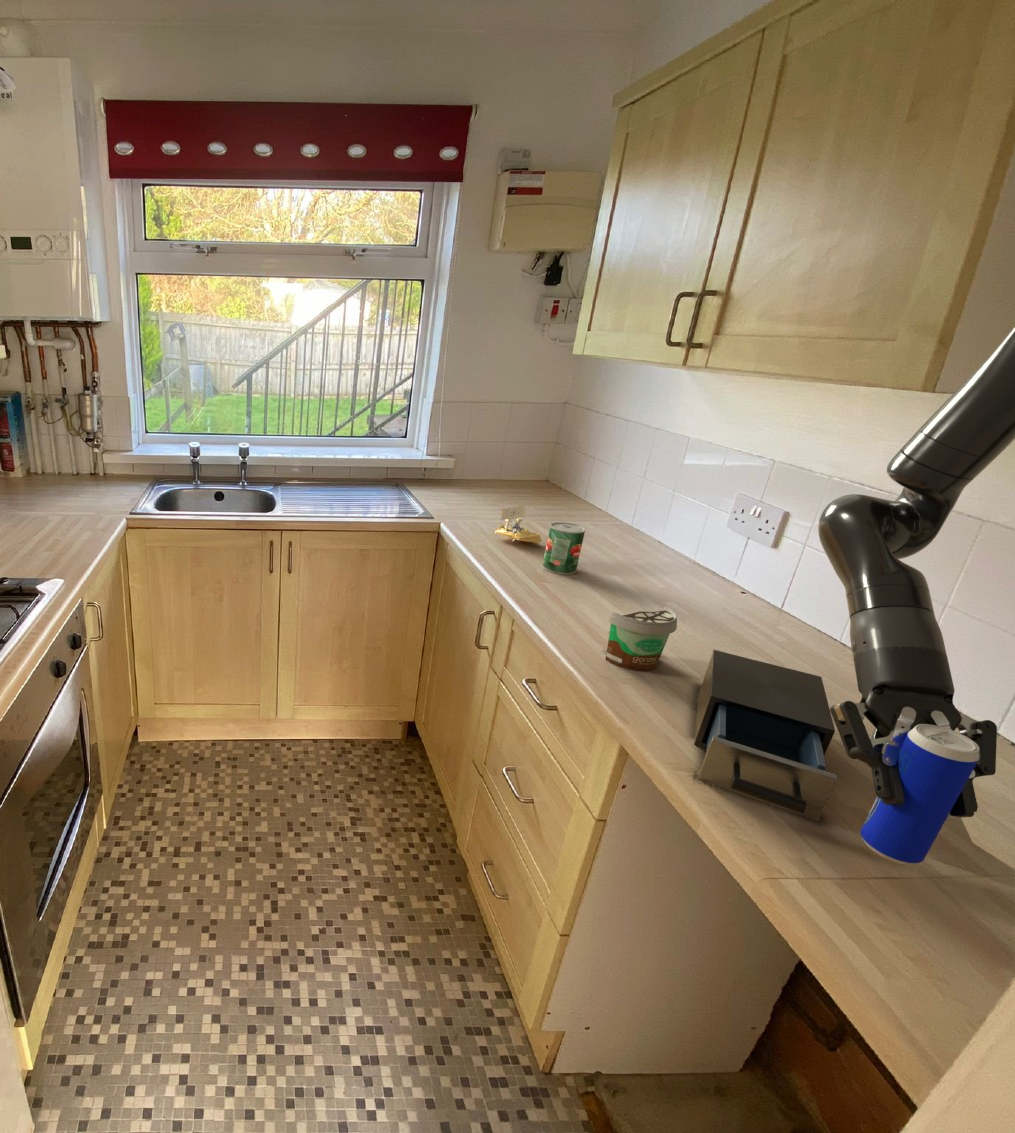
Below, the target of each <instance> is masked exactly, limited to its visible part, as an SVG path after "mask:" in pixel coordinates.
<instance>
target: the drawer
mask: <svg viewBox="0 0 1015 1133" xmlns="http://www.w3.org/2000/svg"><path fill="white" fill-rule="evenodd" d="M705 751H706V752H705V756H704V758H703V762H702V764H701V767H700V770H699V773H698V776H697V779H698V780H700V781H703V782H705V783H708V784H711V785H714V786H717V787H720V788H722V789H724V790H725V789H726V790H728V791H731V792H733V793H737V794H740V795H742V796H745V797H748V798H751V799H754V800H758V801H760V802H762V803H766V804H768V805H771V806H773V807H777V808H780V809H784V810H786V811H789V812H792V813H793V814H794V813H795V814H797V815H801V816H803V817H805V818H809V819H812V820H814V821H817V822H819V820H820V818H821V816H822V814H823V812H824V809H825V807H826V805H827V804H828V801H829V798H830V797H831V794H832V792H833V790H834V788H835V785H836V783H837V782H838V776H837V774H836V773H833V772H830V771H826V770H827V764H826V760H825V759H826V758H825V755H824V754H823V749H822V745H821V740H820V735H819V732H818V731H815V730H811V729H808V728H804V727H801V726H797V725H794V724H790V723H787V722H783V721H780V720H776V719H773V718H769V717H766V716H762V715H759V714H756V713H752V712H749V711H745V710H742V709H738V708H735V707H731V706H728V705H724V704H721V703H717V702H716V704H715V706H714V709H713V712H712V715H711V718H710V721H709V724H708V733H707V749H706V750H705Z"/></svg>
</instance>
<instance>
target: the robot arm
mask: <svg viewBox="0 0 1015 1133" xmlns="http://www.w3.org/2000/svg"><path fill="white" fill-rule="evenodd" d="M1014 441H1015V325H1014V326H1013V328H1012V329H1011V330H1010V331H1009V332H1008V333H1007V335H1006V336H1005V337H1004V339H1003V340H1002V341H1001V342H1000V343H999V344H998V346H997V347H996V348H995V349H994V350H993V351H992V353H990V355H989V356H988V357H987V358H986V359H985V360H984V361H983V363H982V364H981V365H980V366H979V367H977V368H976V370H975V371H974V372H973V373H972V374H971V375H970V376H969V377H968V378H967V379H966V380H965V381H964V382H963V383H962V385H960V386H959V387H958V388H957V389H956V390H955V391H954V392H953V393H952V394H951V396H950V397H948V398H947V399H946V401H945V402H943V404H941V405H940V406H939V407H938V409H937V410H936V411H935V412H933V414H931V416H930V417H929V418H928V419H927V420H926V421H925V422H924V423H923V424H922V425H921V426H920V427H919V428H918V429H917V430H916V432H915V433H914V434H913V435H912V436H911V437H910V438H909V439H908V441H907V442H905V443H904V445H903V446H902V447H901V448H900V449H899V450H898V451H897V452H896V454H894V456H893V457H892V458H891V459H890V461H889V462H888V464H887V466H886V474H887V476H888V477H889V478H890V480H892V481H893V482H895V484H898V485H899V486H901V487H903V488H902V490H901V492H900V494H899V496H898V497H897V498H896V499H895V500H891V499H886V498H880V497H877V496H876V497H875V496H871V495H866V494H857V493H854V494H853V493H852V494H845V495H841V496H839V497H837V498H835V499H833V500H832V501H830V502H829V503H828V504H827V505H826V506H825V508H824V509H823V511H822V512H821V515H820V517H819V520H818V524H817V526H818V527H817V529H818V530H817V531H818V538H819V542H820V545H821V546H822V550H823V551H824V553H825V555H826V557H827V559H828V560H829V563H830V564H831V566H832V568H833V570H834V572H835V574H836V576H837V578H838V579H839V581H840V582H841V584H842V585H843V587H844V590H845V597H846V604H847V610H848V616H849V639H850V648H851V651H852V658H853V664H854V671H855V677H856V683H857V689H858V692H859V693H860V695H861V699H860V701H859V702H853V701H851V700H846V701H843V702H840V703H836V704H833V705H831V706H829V709H830V713H831V716H832V720H833V723H834V724H835V727H836V729H837V732H838V733H839V737H840V740H841V743H842V745H843V747H844V750H845V752H846V755H847V756H848V757H849V758H850V759H852V760H859V761H861V762H863V763H866V764H867V765H868V766H869V767H870V770H871V774H872V781H873V788H874V793H875V795H876V797H877V796H878V798H881V800H882V803H883V804H885V805H891V806H898V805H903V804H904V803H905V799H904V794H903V788H902V783H901V777H900V772H899V768H894V765H895V764H896V762H897V759H898V756H899V752H900V749H901V747H902V745H903V742H904V740H905V738H906V736H907V734H908V732H909V731H911V730H912V729H913V728H914V727H915V726H916V725H919V724H930V725H936V726H940V727H944V728H947V729H950V730H953V731H956V729H957V730H958V731H959V733H960V734H962V735H964V736H966V737H968V738H969V739H971V740H972V741H974V742H975V743H976V744H977V745H978V746H979V760H978V762H977V764H976V766H975V767H974V769H973V771H972V773H971V775H970V776H969V778H968V780H967V782H966V784H965V786H964V787H963V789H962V791H961V793H960V795H959V797H958V798H957V800H956V802H955V804H954V806H953V808H952V809H951V811H950V813H949V816H951V817H956V818H973V817H974V815H975V813H976V812H978V808H979V805H978V802H977V797H976V792H975V788H974V783H973V781H974V780H975V778H980V777H985V776H986V777H987V776H989V777H990V776H994V775H995V774H996V771H997V770H996V769H997V768H996V767H997V740H998V739H997V738H998V726H997V724H996V723H995V722H994V721H992V720H989V719H985V720H976V719H972V718H969V717H966V716H962V713H961V712H960V711H959V710H958V709H957V707H956V706H955V704H954V695H955V686H954V680H953V678H952V672H951V667H950V663H949V658H948V653H947V650H946V644H945V640H944V636H943V633H942V630H941V628H940V625H939V623H938V621H937V619H936V614H935V610H934V605H933V601H932V596H931V592H930V588H929V584H928V581H927V578H926V576H925V575H924V574H923V573H922V571H920V570H919V569H917V568H915V567H914V566H912V565H909V564H908V563H905V562H904V561H902V559H906V558H909V557H911V556H913V555H915V554H918V553H919V552H921V551H923V550H924V549H926V548H927V547H928V546H929V545H930V544H931V543H932V542H933V541H934V539H935V538H936V537H937V536H938V534H939V533H940V531H941V530H942V527H943V526H944V524H945V523H946V521H947V519H948V517H949V516H950V514H951V512H952V511H953V509H954V507H955V505H956V504H957V502H958V500H959V498H960V496H961V494H962V492H963V491H964V489H965V488H966V487H967V486H968V485H969V484H970V483H971V482H972V481H973V480H974V479H975V478H977V477H978V476H979V475H980V474H981V473H982V472H983V471H984V470H985V469H986V468H987V467H988V466H989V465H990V464H991V463H992V462H993V461H994V460H995V459H997V458H998V457H999V456H1000V454H1002V453H1003V452H1004V451H1005V450H1006V449H1007V448H1008V447H1009V446H1010V445H1011V444H1012V443H1013V442H1014ZM865 718H866V719H867V721H869V723H871V724H872V726H873V727H874V729H873V731H872V734H871V738H870V735H869V733H868V730H867V728H866V725H865V724H864V720H865Z"/></svg>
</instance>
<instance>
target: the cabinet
mask: <svg viewBox="0 0 1015 1133" xmlns="http://www.w3.org/2000/svg"><path fill="white" fill-rule="evenodd" d="M697 696H698V697H697V707H696V708H697V709H696V719H695V729H694V742H693V745H695V746H697V747H700V748H703V749H706V750H707V733H708V724H709V721H710V718H711V715H712V712H713V709H714V706H715V704H716V702H717V703H721V704H724V705H728V706H731V707H735V708H738V709H742V710H745V711H749V712H752V713H756V714H759V715H762V716H766V717H769V718H773V719H776V720H780V721H783V722H787V723H790V724H794V725H797V726H801V727H804V728H808V729H811V730H815V731H818V732H819V735H820V740H821V745H822V749H823V754H824V756H825V755H826V753H827V751H828V749H829V746H830V744H831V743H832V740H833V737H834V735H835V733H836V729H835V726H834V724H835V723H834V719H833V717H832V714H831V711H830V704H829V701H828V697H827V693H826V689H825V685H824V682H823V678H822V676H820V675H816V674H812V673H808V672H804V671H800V670H796V669H792V668H788V667H784V666H781V665H777V664H772V663H768V662H764V661H760V660H757V659H756V660H755V659H752V658H748V657H745V656H740V655H737V654H732V653H729V652H724V651H720V650H718V649H717V650H716V649H713V650H712V653H711V656H710V659H709V662H708V665H707V668H706V670H705V673H704V677H703V680H702V682H701V686H700V689H699V692H698V695H697Z"/></svg>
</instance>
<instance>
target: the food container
mask: <svg viewBox="0 0 1015 1133" xmlns="http://www.w3.org/2000/svg"><path fill="white" fill-rule="evenodd" d="M608 623H610V628H609V629H610V630H609V633H608V634H609V636H608V641H607V647H606V652H605V660H606V661H607V662H609V663H610V664H613V665H615V666H617V667H620V668H623V669H627V670H631V671H637V672H649V671H652V670H655V669H656V667H657V666H658V663H659V661H660V658H661V656H662V654H663V651H664V649H665V647H666V644H667V642H668V639H669V637H670V634H672V633H674V632H676V631H677V628H678V618H677V614H676V613H675V611H673V609H671V608H670V607H668V606H667V605H665V606H664V608H663V610H659V611H635V612H632V613H628V614H620V613H618V612H616V611H614V610H613V611H612V614H611V615H610V617H609V619H608Z"/></svg>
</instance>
